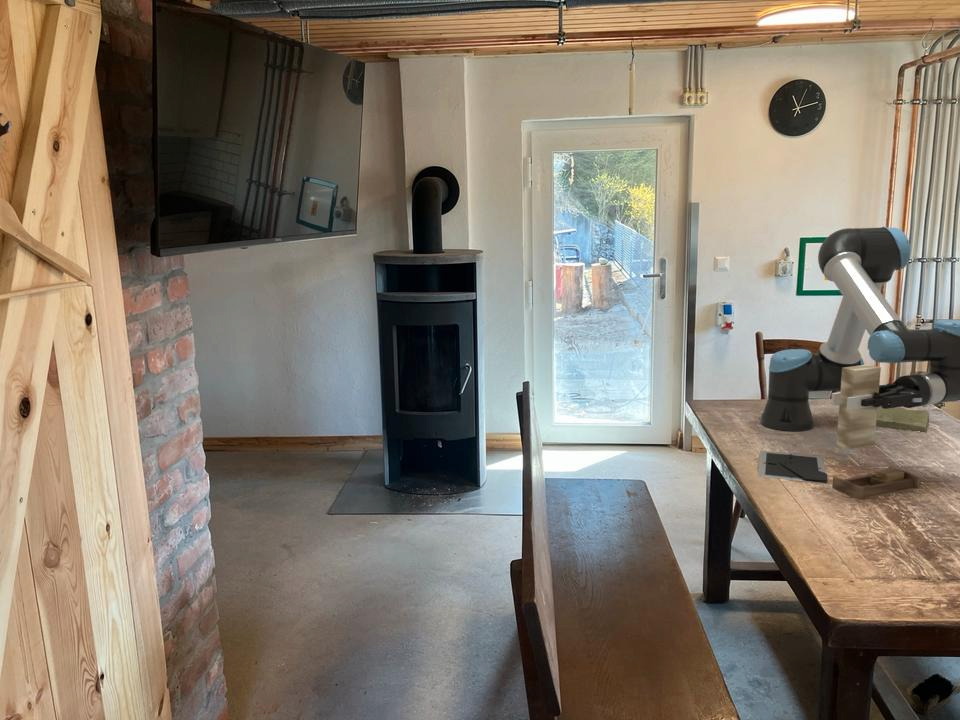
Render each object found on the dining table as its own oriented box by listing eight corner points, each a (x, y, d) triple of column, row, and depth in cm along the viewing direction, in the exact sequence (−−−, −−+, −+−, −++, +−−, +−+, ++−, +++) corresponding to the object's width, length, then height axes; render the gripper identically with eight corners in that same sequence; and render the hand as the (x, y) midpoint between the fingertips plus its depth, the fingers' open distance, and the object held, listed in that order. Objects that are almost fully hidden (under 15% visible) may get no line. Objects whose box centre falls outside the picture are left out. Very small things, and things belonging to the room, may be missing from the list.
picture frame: (827, 491, 171) (822, 463, 190) (827, 480, 171) (823, 453, 190) (757, 483, 177) (759, 457, 196) (757, 473, 177) (760, 447, 196)
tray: (831, 492, 169) (833, 476, 168) (889, 481, 174) (890, 466, 174) (859, 504, 161) (861, 488, 161) (918, 492, 167) (920, 476, 166)
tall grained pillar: (836, 444, 162) (842, 367, 159) (861, 440, 165) (867, 364, 161) (849, 449, 159) (855, 370, 156) (874, 444, 162) (880, 367, 158)
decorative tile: (925, 434, 211) (926, 423, 211) (850, 425, 223) (851, 414, 222) (931, 419, 226) (932, 409, 225) (860, 411, 238) (861, 401, 237)
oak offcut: (874, 484, 170) (875, 470, 169) (890, 481, 171) (891, 467, 171) (886, 489, 167) (888, 475, 166) (902, 486, 168) (904, 472, 167)
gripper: (949, 414, 159) (870, 427, 151) (884, 397, 174) (810, 409, 166) (953, 381, 158) (873, 393, 150) (887, 368, 173) (812, 377, 165)
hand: (840, 401), depth 158 cm, fingers closed on tall grained pillar, 3 cm apart
